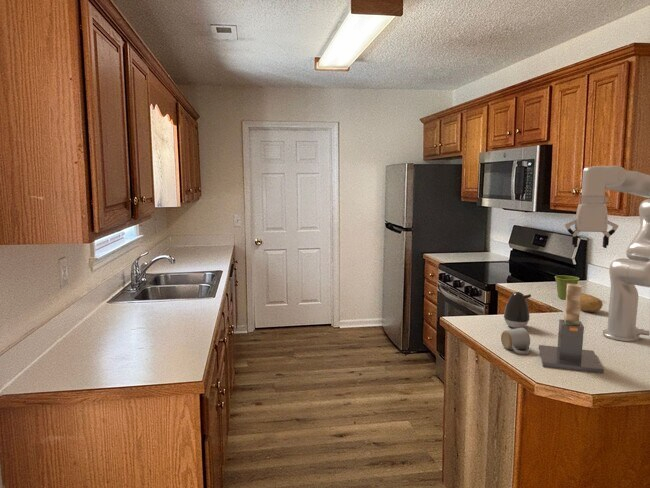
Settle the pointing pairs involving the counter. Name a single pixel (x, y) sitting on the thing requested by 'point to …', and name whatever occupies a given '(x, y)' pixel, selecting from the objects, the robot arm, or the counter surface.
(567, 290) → the post
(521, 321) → the pump dispenser
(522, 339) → the ceramic mug
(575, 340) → the stand
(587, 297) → the potato
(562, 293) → the plant pot
